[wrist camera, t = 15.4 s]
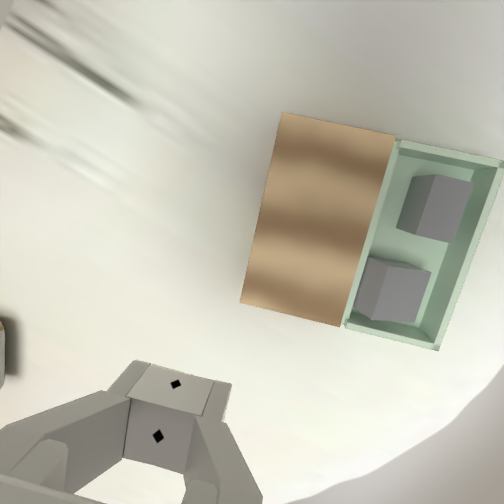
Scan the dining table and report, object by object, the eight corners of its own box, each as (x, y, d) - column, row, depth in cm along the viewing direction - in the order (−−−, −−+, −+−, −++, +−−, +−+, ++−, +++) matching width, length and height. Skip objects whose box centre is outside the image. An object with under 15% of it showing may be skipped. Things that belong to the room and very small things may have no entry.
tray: (384, 145, 31) (398, 138, 27) (479, 165, 30) (508, 161, 26) (336, 312, 34) (342, 327, 30) (420, 332, 34) (438, 351, 30)
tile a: (436, 174, 26) (474, 182, 26) (412, 176, 31) (444, 184, 31) (415, 234, 27) (451, 243, 27) (395, 228, 32) (426, 235, 32)
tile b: (366, 256, 30) (388, 266, 28) (406, 262, 32) (431, 272, 29) (351, 305, 31) (371, 319, 29) (391, 309, 33) (414, 322, 30)
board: (282, 119, 31) (281, 111, 28) (385, 140, 31) (396, 135, 28) (243, 293, 35) (239, 302, 32) (335, 315, 34) (339, 327, 32)
